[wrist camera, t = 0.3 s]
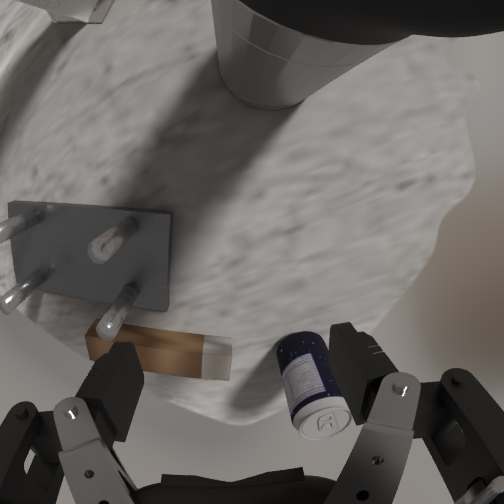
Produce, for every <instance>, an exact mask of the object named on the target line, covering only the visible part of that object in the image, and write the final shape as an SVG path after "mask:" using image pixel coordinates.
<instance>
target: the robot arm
mask: <svg viewBox="0 0 504 504" xmlns="http://www.w3.org/2000/svg"><path fill="white" fill-rule="evenodd" d="M211 4H212V12H213V20H214V28H215V36H216V44H217V53H218V62H219V69H220V73H221V76H222V80H223V81H224V83H225V85H226V86H227V88H228V89H229V90H230V91H231V92H232V93H233V95H234V96H236V97H237V98H239V99H240V100H241V101H243V102H245V103H247V104H249V105H251V106H254V107H258V108H262V109H273V110H275V109H283V108H287V107H290V106H293V105H295V104H297V103H299V102H301V101H302V100H304V99H305V98H307V97H308V96H310V95H311V94H313V93H315V92H316V91H318V90H319V89H321V88H322V87H324V86H325V85H327V84H328V83H330V82H331V81H333V80H334V79H336V78H338V77H339V76H341V75H342V74H344V73H346V72H347V71H349V70H350V69H352V68H354V67H355V66H357V65H359V64H360V63H362V62H364V61H365V60H367V59H369V58H370V57H372V56H373V55H375V54H377V53H379V52H380V51H382V50H384V49H386V48H388V47H389V46H391V45H393V44H395V43H397V42H399V41H400V40H402V39H405V38H407V37H409V36H411V35H425V36H434V37H469V36H478V35H483V34H491V33H495V32H501V31H504V0H211ZM328 359H329V366H330V369H331V372H332V374H333V376H334V378H335V380H336V382H337V384H338V386H339V389H340V391H341V393H342V395H343V397H344V399H345V401H346V404H347V406H348V408H349V410H350V412H351V414H352V417H353V419H354V421H355V423H356V425H361V424H364V425H363V427H362V430H361V432H360V434H359V436H358V439H357V441H356V443H355V445H354V447H353V449H352V452H351V454H350V456H349V458H348V460H347V462H346V464H345V466H344V468H343V470H342V472H341V474H340V475H339V477H338V479H337V481H334V480H331V479H328V478H324V477H319V476H308V475H304V472H303V468H302V467H299V468H293V469H287V470H280V471H272V472H266V473H263V474H259V475H256V476H253V477H249V478H246V479H242V480H238V481H234V482H226V481H219V480H214V479H209V478H204V477H199V476H192V475H169V474H162V478H161V483H156V484H152V485H148V486H145V487H143V488H140V489H138V488H137V487H136V486H135V484H134V483H133V481H132V480H131V478H130V476H129V475H128V473H127V471H126V469H125V468H124V466H123V464H122V463H121V461H120V459H119V457H118V455H117V454H116V452H115V450H114V448H113V447H112V446H113V443H114V441H119V442H125V441H126V437H127V434H128V431H129V428H130V424H131V421H132V418H133V415H134V412H135V409H136V406H137V403H138V400H139V397H140V394H141V391H142V388H143V385H144V373H143V370H142V367H141V364H140V361H139V358H138V355H137V352H136V349H135V346H134V344H133V343H132V342H114V343H113V345H112V347H111V348H110V350H109V352H108V353H104V354H103V355H102V356H101V357H100V358H98V359H97V360H96V361H95V363H94V365H93V366H92V370H90V372H89V373H88V376H87V377H86V378H85V380H84V382H83V383H82V385H81V387H80V389H79V391H78V392H77V394H76V396H75V397H70V398H66V399H64V400H62V401H60V402H59V403H58V404H57V405H56V406H55V408H54V411H44V412H38V410H37V408H36V407H35V405H34V404H33V403H31V402H28V401H24V402H20V403H18V404H16V405H14V406H13V407H12V408H11V410H10V411H9V412H8V414H7V416H6V417H5V419H4V421H3V422H2V424H1V426H0V504H56V501H57V497H58V494H59V490H60V487H61V484H62V481H63V477H64V474H65V477H66V480H67V482H68V485H69V488H70V491H71V493H72V495H73V498H74V501H75V503H76V504H392V502H393V499H394V497H395V494H396V491H397V489H398V486H399V483H400V480H401V477H402V474H403V471H404V468H405V465H406V461H407V458H408V454H409V451H410V447H411V443H412V439H416V438H422V439H423V441H424V443H425V445H426V446H427V448H428V450H429V452H430V454H431V456H432V458H433V460H434V462H435V464H436V466H437V468H438V470H439V472H440V474H441V476H442V478H443V480H444V482H445V484H446V486H447V488H448V490H449V492H450V494H451V496H452V499H453V501H454V504H504V411H503V410H502V409H501V408H500V406H499V405H498V404H497V403H496V402H495V400H494V399H493V398H492V397H491V396H490V394H489V393H488V392H487V391H486V390H485V389H484V387H483V386H482V385H481V384H480V383H479V381H478V380H477V379H476V378H475V377H474V376H473V375H472V374H471V373H470V372H468V371H467V370H464V369H460V368H452V369H449V370H447V371H445V372H444V374H443V375H442V377H441V380H440V381H438V382H426V383H420V382H419V380H418V379H417V378H416V377H415V376H413V375H411V374H408V373H404V372H399V371H398V370H397V368H396V367H395V366H394V364H393V363H392V362H391V361H390V359H389V358H388V356H387V355H386V354H385V353H384V352H383V350H382V349H381V347H380V346H378V343H377V342H376V341H375V340H374V338H373V337H372V336H370V335H368V334H366V333H365V332H357V331H356V330H355V328H354V327H353V325H352V324H351V323H350V322H346V323H340V324H334V325H331V327H330V339H329V354H328ZM458 425H459V426H458ZM460 428H461V429H460ZM462 431H463V432H462ZM30 449H31V450H32V451H33V452H34V453H35V456H34V458H33V461H32V463H31V465H30V468H29V471H28V473H27V474H26V472H25V470H24V462H25V459H26V457H27V455H28V452H29V450H30Z"/></svg>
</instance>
